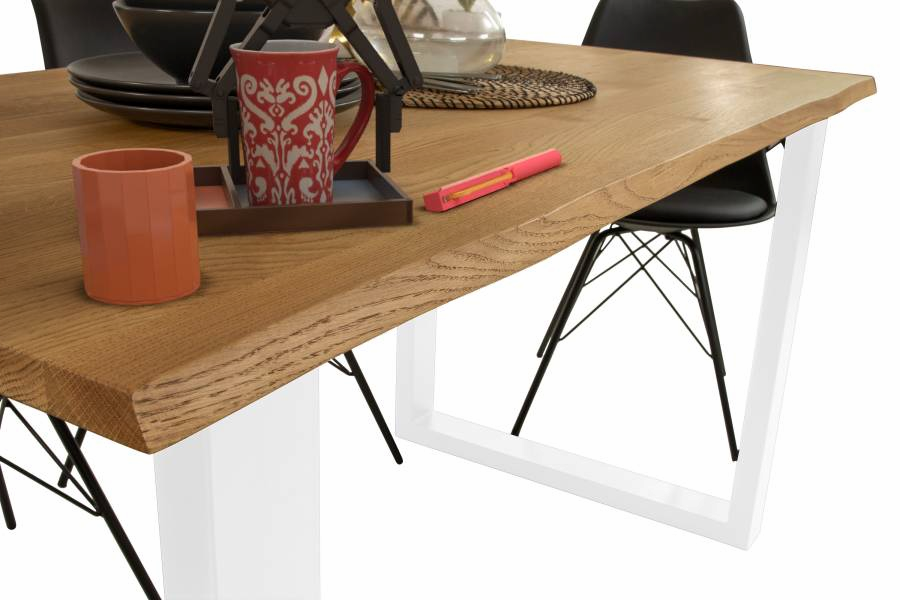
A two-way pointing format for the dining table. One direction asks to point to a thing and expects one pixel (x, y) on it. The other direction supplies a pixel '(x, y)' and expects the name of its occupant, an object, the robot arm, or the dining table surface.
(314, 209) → the tray
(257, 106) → the mug
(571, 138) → the dining table surface
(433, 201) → the pink highlighter pen
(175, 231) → the terracotta cup
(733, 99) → the dining table surface
